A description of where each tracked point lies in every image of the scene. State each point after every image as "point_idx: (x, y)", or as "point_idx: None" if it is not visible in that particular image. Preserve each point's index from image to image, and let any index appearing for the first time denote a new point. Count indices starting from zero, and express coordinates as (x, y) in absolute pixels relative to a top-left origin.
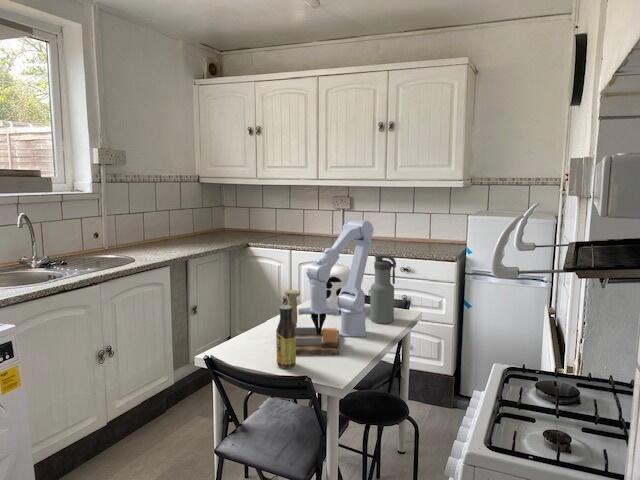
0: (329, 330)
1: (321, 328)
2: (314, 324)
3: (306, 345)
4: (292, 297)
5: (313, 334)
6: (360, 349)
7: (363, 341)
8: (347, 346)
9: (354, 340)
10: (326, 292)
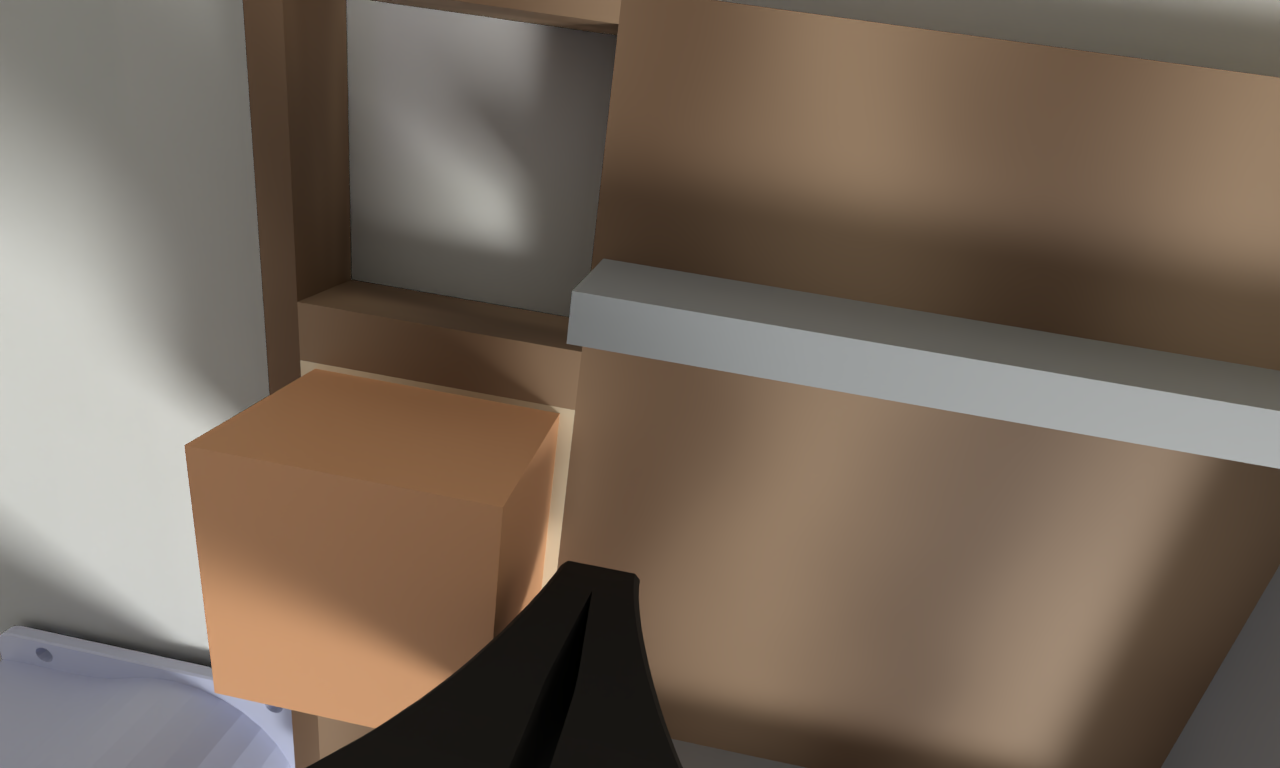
0: (348, 592)
1: (504, 631)
2: (674, 748)
3: (902, 282)
4: None
5: (679, 738)
6: (10, 199)
7: (16, 489)
8: (209, 350)
9: (134, 543)
10: None
